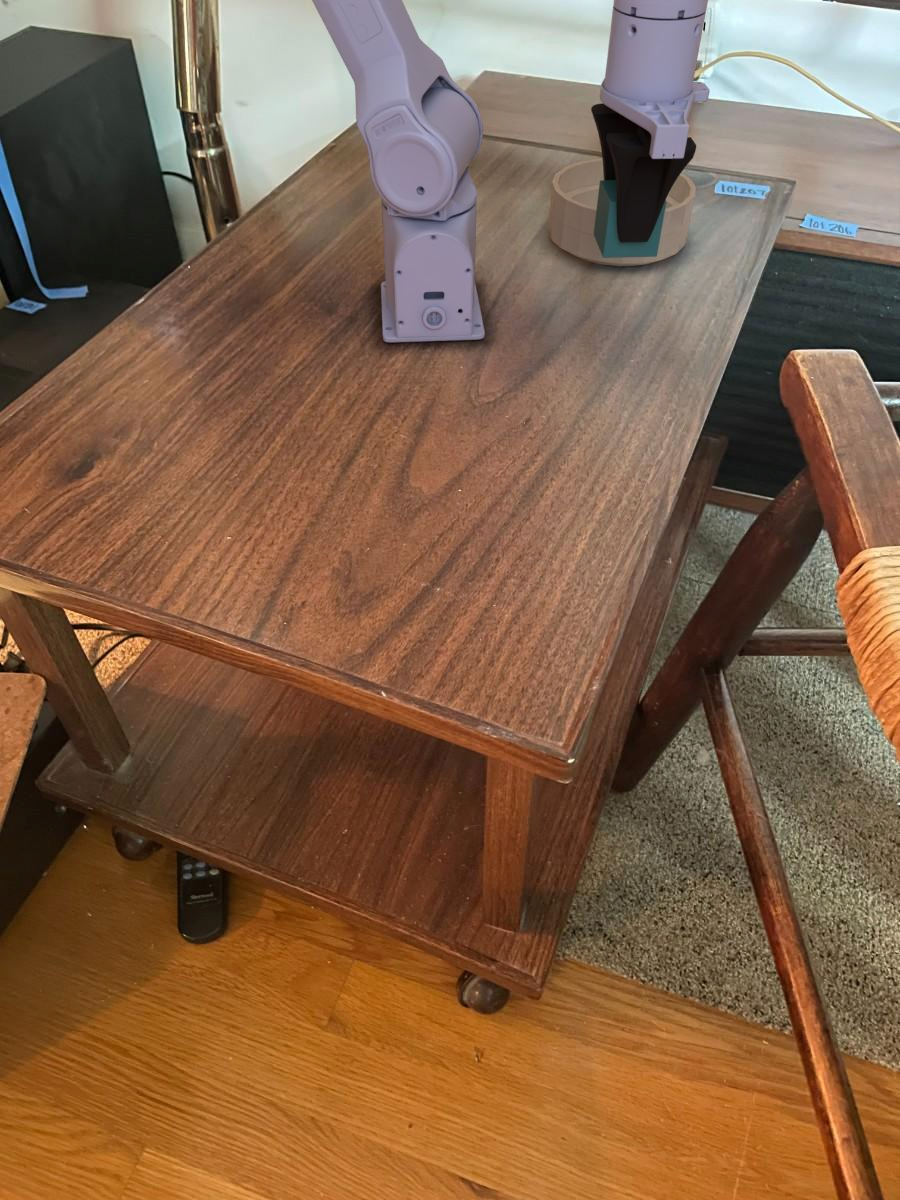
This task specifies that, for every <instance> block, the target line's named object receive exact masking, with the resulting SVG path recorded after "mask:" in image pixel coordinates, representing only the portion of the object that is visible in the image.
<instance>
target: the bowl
mask: <svg viewBox="0 0 900 1200" xmlns="http://www.w3.org/2000/svg"><path fill="white" fill-rule="evenodd" d="M601 180H604V172H603V159H602V157H599V158H591V159H587V160H586V159H585V160H581V161H577V162H574V163H572V164H571V163H570V164H568V165H566V166H564V167H562V168H561V169H560V170H558V171H557V172H556V173H555V175H554V176H553V179H552V181H551V192H550V203H549V214H548V227H547V231H548V233H549V236H550V240H551V241H552V242H553V243H554V244H555V245H557V246H558V247H559V249H561V250H564V251H566V252H568V254H571V255H572V256H574V257H576V258H578V259H581V260H583V261H587V262H589V263H594V264H598V265H604V266H613V267H636V266H644V265H650V264H653V263H656V262H659V261H663V260H665V259H668V258H670V257H672V256H675V255H677V253H679V252H680V251H681V250H682V249H683V248H684V247H685V245H686V244H687V240H688V239H687V238H688V233H689V229H690V224H691V219H692V214H693V209H694V203H695V198H696V193H697V186H696V185H695V183H694V182H693V180H692V179H691V177H689V176H687V175H686V174H685V173H683V172H681V174H680V175H679V176H678V178H677V180H676V181H675V183H674V185H673V186H672V188H671V190H670V192H669V194H668V196H667V198H666V208H665V213H664V219H663V225H662V230H661V236H660V242H659V247H658V253H657V256H656V257H620V258H603V257H602V254H601V252H600V249H599V247H598V244H597V241H596V239H595V236H594V226H595V218H596V210H597V201H598V193H599V185H600V181H601Z"/></svg>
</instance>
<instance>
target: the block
mask: <svg viewBox="0 0 900 1200" xmlns="http://www.w3.org/2000/svg"><path fill="white" fill-rule="evenodd" d="M665 208H666V200H665V203H664V205H663V207H662V210H661V212H660V215H659V217H658V220H657V222H656V225H655V227H654V229H653V232H652V234H651V236H650V238H649V240H648V241H647V242H623V243H622V242H620V241H619V237H618V231H617V186H616V180H601V181H600V185H599V193H598V201H597V210H596V218H595V226H594V236H595V239H596V241H597V244H598V247H599V249H600V252H601V254H602V257H603V258H620V257H656V256H657V253H658V247H659V242H660V236H661V230H662V225H663V219H664V213H665Z"/></svg>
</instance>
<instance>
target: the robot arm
mask: <svg viewBox="0 0 900 1200" xmlns="http://www.w3.org/2000/svg"><path fill="white" fill-rule="evenodd" d="M311 1H312V3H313V5H314V7H315V9H316V11H317V13H318V15H319V17H320V19H321V20H322V23H323V25H324V26H325V28H326V30H327V33H328V35H329V36H330V39H331V40H332V42H333V44H334V46H335V48H336V49H337V52H338V54H339V56H340V58H341V59H342V61H343V64H344V65H345V67H346V69H347V71H348V74H349V75H350V77H351V79H352V81H353V84H354V92H355V93H354V97H355V119H356V120H355V121H356V127H357V129H358V132H359V134H360V135H361V137H362V139H363V142H364V143H365V146H366V148H367V152H368V159H369V160H368V161H369V172H370V177H371V181H372V184H373V186H374V188H375V190H376V192H377V194H378V195H379V196H380V198H381V199H380V200H381V202H380V203H381V222H382V240H383V241H382V243H383V259H384V260H383V261H384V280H385V281H382V282H381V283H380V295H381V296H380V297H381V322H382V326H381V327H382V340H383V341H384V342H386V343H416V342H418V343H419V342H421V343H422V342H449V341H476V340H477V341H479V340H483V339H484V338H485V337H486V336H485V335H486V332H485V326H484V321H483V316H482V311H481V306H480V300H479V295H478V290H477V286H476V278H475V277H476V275H475V274H476V245H477V244H476V242H477V241H476V240H477V207H478V206H477V204H478V203H477V200H478V191H477V188H476V185H475V184H474V182H473V179H472V177H471V173H470V171H469V168H470V167H469V165H470V164H472V162H473V161H474V160H475V159H476V157H477V156H478V154H479V152H480V150H481V147H482V144H483V139H484V123H483V122H484V121H483V118H482V114H481V111H480V110H479V107H478V105H477V104H476V102H475V100H474V99H473V98H472V96H470V94H468V92H466V91H465V90H464V89H462V87H460V86H459V85H458V84H457V83H456V82H455V81H454V80H453V78H452V76H451V75H450V73H449V70H447V67H446V64H445V63H444V60H443V58H441V57H440V56H439V54H437V53H436V52H435V51H434V50H433V49H432V48H431V47H429V46H428V45H427V44H426V43H425V42H424V41H423V40H422V39H421V38H420V36H419V34H418V31H417V29H416V27H415V26H414V23H413V20H412V19H411V16H410V14H409V12H408V10H407V8H406V5H405V4H404V2H403V0H311ZM708 3H709V0H613V5H612V12H611V19H610V31H609V38H608V48H607V55H606V56H607V57H606V67H605V75H604V78H603V80H602V82H601V84H600V88H599V89H600V90H599V100H600V102H601V103H596V104H594V105H592V106H591V109H590V110H591V114H592V117H593V120H594V123H595V126H596V130H597V133H598V134H597V135H598V139H599V144H600V150H601V158H602V159H603V172H604V180H616V186H617V231H618V237H619V241H620V242H622V243H623V242H647V241H648V240H649V238H650V236H651V234H652V232H653V229H654V227H655V225H656V222H657V220H658V217H659V215H660V212H661V210H662V207H663V205H664V203H665V200H666V198H667V196H668V194H669V192H670V190H671V188H672V186H673V185H674V183H675V181H676V180H677V178H678V176H679V175H680V174H681V173H683V171H684V170H685V168H686V167H687V166H688V165H689V163H690V162H691V161H692V160H693V159H694V156H695V154H696V150H697V143H696V142H695V141H694V139H693V138H692V137H690V136H689V131H690V124H689V122H688V118H689V115H690V113H691V109H692V106H693V104H695V103H706V102H708V101H709V97H710V91H711V90H710V88H709V87H708V86H707V84H706V83H704V82H702V81H694V80H695V74H696V68H697V63H698V57H699V52H700V47H701V40H702V36H703V31H704V26H705V25H704V24H705V20H706V14H707V10H708V9H707V8H708Z"/></svg>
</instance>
